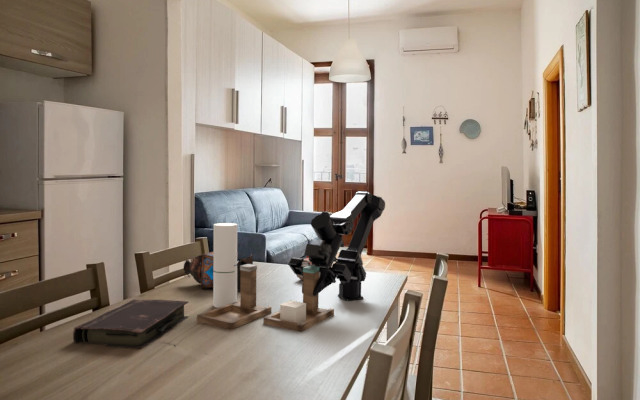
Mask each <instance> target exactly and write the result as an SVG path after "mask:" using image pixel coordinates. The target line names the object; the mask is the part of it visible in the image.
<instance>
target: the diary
mask: <svg viewBox="0 0 640 400" xmlns="http://www.w3.org/2000/svg"><path fill="white" fill-rule="evenodd" d="M188 303H189V301H186V300H172V299H171V300H170V299H132V300H130V301H128V302H126V303H124V304H122V305H121V306H118V307H116V308H114V309H112V310H109V311H106V312H105V313H102V314H101V315H99V316H96V317H95V318H93V319H91V320H89V321H86V322H84V323H81V324H79V325H76V326H75V327H74V328H73V333H72V336H73V343H74V344H78V343H80V342H81V341H83V343H82V345H83V344H86V343H88V344H96V345H105V347H111V348H120V349H121V348H122V349H123V348H124V349H130V350H131V349H132V350H133V349H134V350H139V349H143V348H145V347H147V346H148V345H150V344H151V343H153V342H154V341H156V340H157V339H159V337H161V336H163V335H164V334H165V333H167V332H169V331H171V330H172V329H173V328H174V327H176V325H179V324H180V323H182V322H183V321H185V320H187V319H189V317H190V316H186V315H185V305H186V304H188Z"/></svg>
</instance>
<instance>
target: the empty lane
mask: <svg viewBox="0 0 640 400" xmlns="http://www.w3.org/2000/svg"><path fill="white" fill-rule="evenodd" d="M240 270H241V284H240V291H239V293H240V298H239V299H240V300H237V301H236V302H233V303H230V304H228V305H225V306H222V307H219V308H216V307H215V308H214V309H213V308H212V309H211V310H208V311H205V312H203V313H199V314H198V315H197V316H196V324H197V325H200V324H202V323H203V324H206V325H211V326H215V327H220V328H224V329H228V330H234V329H236V328H239V327H241V326H244V325H246V324H248V323H250V322H253V321H255V320H258V319H260V318H262V317H266V316H268V315H270V314H272V306H265V307H264V306H259V305H257V270H258V265H256V264H253V265H252V264H245V265H242V266H240Z"/></svg>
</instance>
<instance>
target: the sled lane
mask: <svg viewBox="0 0 640 400" xmlns="http://www.w3.org/2000/svg"><path fill="white" fill-rule="evenodd" d="M318 280H319V267H315V266H307V267H304V268H303V280H302V283H303V293H302V303H306V321H304V322H302V323H295V322H290V321H286V320H281V319H280V310H278V311H276V312H274V313H270V314H267V315H265V316H263V318H262V319H263V323H262V324H263V325H268V326H273V327H275V328H276V327H277V328H282V329H286V330H289V331H290V330H292V331H294V332H300V333H303V332H304V331H306V330H308V329H310V328H312V327H314V326H315V325H317V324H320V323H322V322H323V321H325V320H327V319H328V318H330V317H333V316H335V309H334V308H331V307H330V308H328V309H326V308H323V307H319V293H320V292H319V293H318V294H317V295H316V296H314V295H313V291H314V288H315V286H316V284H317V282H318Z"/></svg>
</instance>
